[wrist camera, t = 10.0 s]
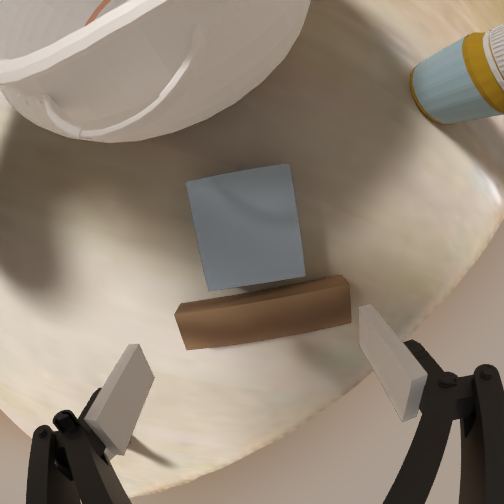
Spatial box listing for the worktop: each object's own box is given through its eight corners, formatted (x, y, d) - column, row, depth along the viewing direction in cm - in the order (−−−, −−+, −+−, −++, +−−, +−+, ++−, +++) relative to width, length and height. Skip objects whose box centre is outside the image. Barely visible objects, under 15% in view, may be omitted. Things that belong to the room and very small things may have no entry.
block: (180, 303, 27) (174, 314, 25) (341, 274, 26) (349, 284, 24) (191, 337, 28) (186, 350, 26) (344, 311, 27) (351, 322, 25)
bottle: (405, 111, 22) (512, 75, 8) (407, 55, 20) (494, -2, 6) (455, 134, 22) (561, 125, 8) (456, 80, 20) (548, 50, 6)
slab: (215, 275, 27) (196, 181, 25) (298, 262, 26) (284, 165, 24) (208, 291, 23) (185, 181, 21) (305, 276, 23) (289, 162, 20)
